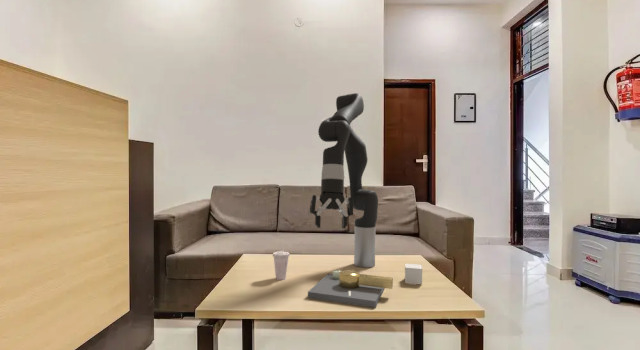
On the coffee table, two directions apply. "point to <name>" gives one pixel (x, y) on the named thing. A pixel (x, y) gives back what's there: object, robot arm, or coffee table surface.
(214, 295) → the coffee table surface
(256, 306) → the coffee table surface
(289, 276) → the coffee table surface
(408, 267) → the beige cube
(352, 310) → the coffee table surface
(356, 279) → the tan handled round piece
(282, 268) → the smoothie
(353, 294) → the grey base plate
